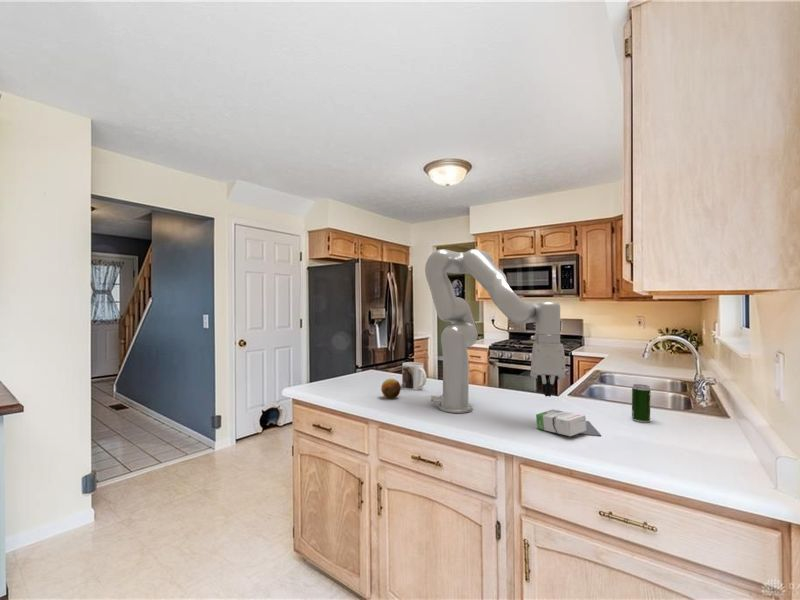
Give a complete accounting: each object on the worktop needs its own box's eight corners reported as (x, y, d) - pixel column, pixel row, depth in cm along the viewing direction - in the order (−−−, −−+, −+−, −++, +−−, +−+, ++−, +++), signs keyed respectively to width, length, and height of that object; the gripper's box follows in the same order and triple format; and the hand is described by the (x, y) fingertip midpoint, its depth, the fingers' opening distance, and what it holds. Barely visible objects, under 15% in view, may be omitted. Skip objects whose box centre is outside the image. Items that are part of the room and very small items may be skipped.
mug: (423, 385, 184) (423, 362, 184) (426, 391, 172) (427, 366, 172) (401, 385, 183) (401, 362, 183) (403, 391, 171) (403, 366, 171)
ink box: (536, 429, 123) (570, 437, 113) (535, 413, 123) (568, 420, 113) (554, 423, 127) (587, 431, 117) (553, 408, 127) (586, 414, 117)
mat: (555, 432, 119) (555, 431, 119) (548, 419, 133) (548, 418, 133) (601, 436, 117) (601, 435, 117) (588, 422, 130) (588, 421, 130)
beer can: (635, 422, 130) (635, 387, 130) (629, 417, 136) (629, 383, 136) (653, 423, 129) (653, 387, 129) (646, 418, 134) (646, 384, 134)
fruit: (404, 398, 159) (404, 378, 159) (389, 401, 153) (390, 381, 153) (391, 394, 165) (391, 376, 165) (377, 398, 159) (377, 378, 159)
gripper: (525, 340, 124) (524, 397, 124) (574, 341, 121) (574, 399, 121) (522, 337, 132) (522, 391, 132) (569, 339, 129) (569, 394, 128)
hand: (547, 395), depth 126 cm, fingers closed
